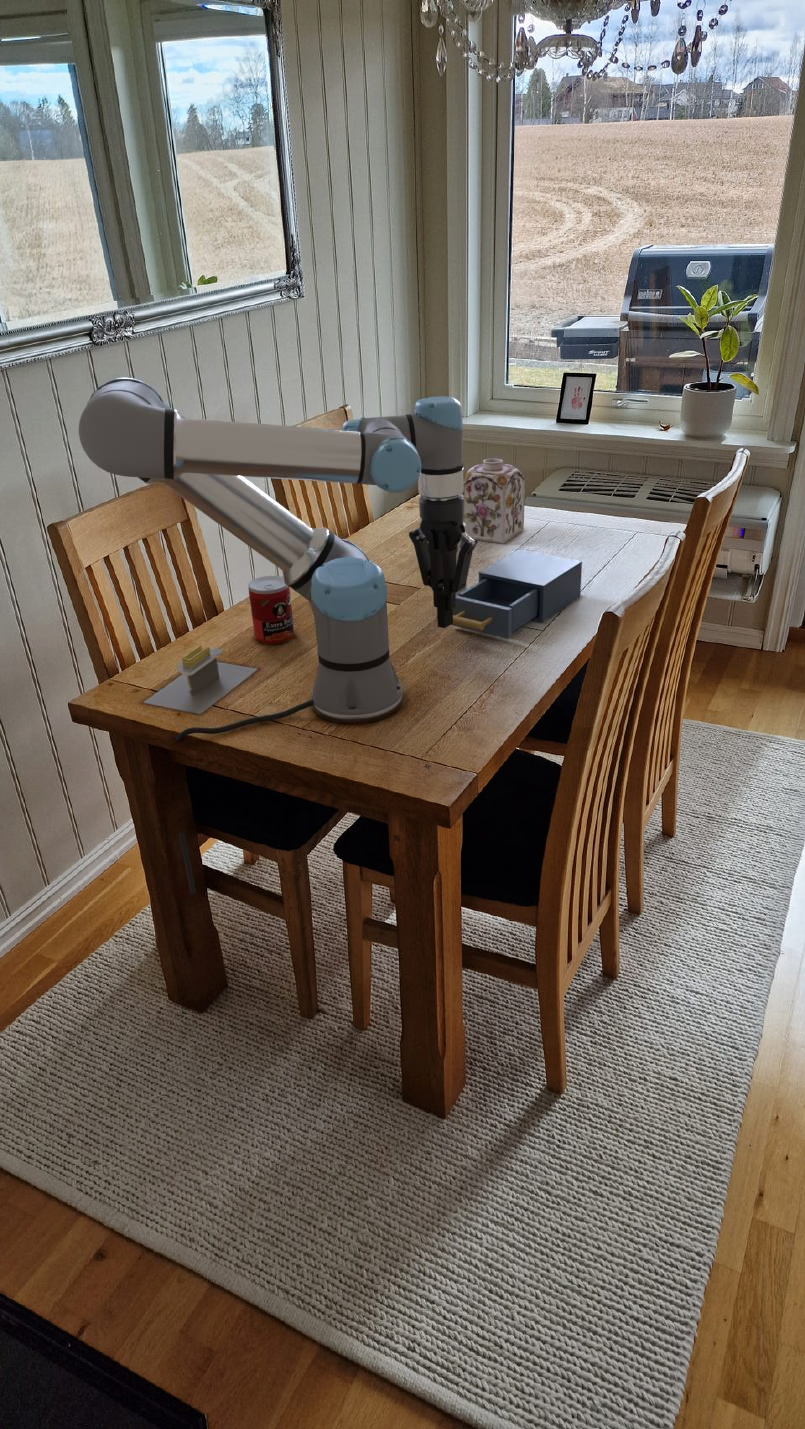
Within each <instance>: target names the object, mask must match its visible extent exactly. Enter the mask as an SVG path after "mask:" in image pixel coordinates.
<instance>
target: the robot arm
mask: <svg viewBox="0 0 805 1429" xmlns="http://www.w3.org/2000/svg"><path fill="white" fill-rule="evenodd" d="M462 412H463V411H462V405H461V402H460V401H459V400H458V399H457V398H454V397H450V396H429V397H423V398H420V399H418V400H417V401H416V402H415V404H414V410H413V413H409V414H402V415H387V416H375V417H365V416H363V417H360V418H356V419H349V420H346V421H344V423H343V424H342V427H341V429H333V428H332V429H331V428H321V427H307V426H296V425H295V426H294V425H282V424H281V425H280V424H269V423H255V422H246V421H245V422H243V421H230V420H219V419H218V420H217V419H208V418H207V419H206V418H192V417H185V416H184V415H183V414H182V413H181V412H180V411H179V410H178V409H173V408H171V407H170V406H169V405H168V404H166V403H165V402H164V400H163V398H162V396H161V394H159V393H158V392H157V390H156V389H154V388H153V387H152V386H151V385H149V384H148V383H146V382H144V381H142V380H140V379H137V378H133V377H118V378H113V379H111V380H108V381H106V382H104V383H102V384H101V385H99V386H97V388H96V390H95V391H94V392H93V393H92V394H91V395H90V397H89V399H88V401H87V402H86V406H85V407H84V409H83V411H82V413H81V415H80V418H79V421H78V422H79V423H78V437H79V442H80V444H81V447H82V449H83V451H84V453H85V454H86V456H87V458H88V459H89V460H90V461H91V462H92V464H94V465H95V466H96V467H98V468H99V469H101V470H102V471H105V472H107V473H109V474H112V475H115V476H120V477H128V478H138V479H139V480H141V481H142V482H143V483H145V484H146V485H150V484H157V483H158V484H163V485H164V486H166V487H167V488H168V489H169V490H171V491H172V492H174V493H175V494H176V495H178V496H179V497H181V498H182V499H184V500H185V501H186V502H187V503H189V504H190V505H191V506H193V507H194V508H196V509H197V510H199V511H200V512H201V513H202V514H204V515H205V516H206V517H208V518H210V519H211V520H212V521H214V522H215V523H216V524H218V525H219V526H221V527H222V528H223V529H225V530H226V531H228V532H229V533H230V534H232V535H233V536H234V537H236V538H237V539H238V540H240V541H241V542H242V543H244V544H245V545H247V546H248V547H249V548H250V549H252V550H253V551H255V552H256V553H258V554H259V555H260V556H261V557H263V558H264V559H265V560H267V561H268V562H270V563H271V564H273V565H274V566H276V567H277V568H278V569H279V570H281V572H282V577H283V578H284V583H285V584H286V585H288V586H289V588H290V589H292V590H293V591H295V592H296V593H297V594H299V595H300V596H302V598H304V599H306V600H307V601H308V602H309V603H310V606H311V610H312V614H313V619H314V628H315V638H316V647H317V658H318V666H317V670H316V674H315V678H314V683H313V686H312V690H311V695H310V700H307V701H305V702H303V703H300V704H297V705H295V706H293V707H291V708H289V709H286V710H284V711H281V712H280V711H279V712H277V713H273V714H272V713H271V714H265V715H260V716H255V717H251V718H247V719H243V720H239V721H237V722H233V723H230V724H227V725H222V726H218V727H202V726H201V727H200V726H198V727H197V726H196V727H195V726H192V727H188V728H186V729H184V730H182V731H181V732H180V733H179V734H178V735H177V736H176V737H175V739H174V741H176V742H179V741H182V740H183V739H184V738H185V737H187V736H188V735H192V734H204V735H205V734H206V735H214V734H221V733H226V732H231V731H233V730H236V729H239V728H242V727H245V726H249V725H254V724H257V723H263V722H269V721H275V720H279V719H283V718H287V717H288V716H289V717H290V716H291V715H293V714H296V713H297V712H300V711H302V710H305V709H307V708H310V707H311V708H312V711H313V712H314V714H316V716H318V717H320V718H321V719H323V720H326V721H328V722H331V723H336V724H342V725H361V724H369V723H373V722H378V721H381V720H383V719H385V718H388V717H390V716H392V715H393V714H395V713H397V712H398V711H399V710H400V708H401V707H402V706H403V704H404V691H403V687H402V684H401V682H400V679H399V676H398V675H397V671H396V670H395V667H394V665H393V662H392V660H391V655H390V653H391V652H390V638H389V620H388V618H389V617H388V604H387V603H388V602H387V598H388V586H387V582H386V577H385V574H384V572H383V570H382V568H380V566H379V565H377V564H376V563H374V562H373V561H370V559H369V557H367V555H366V553H365V552H364V551H363V550H362V549H361V547H359V546H357V545H356V544H355V543H353V542H352V541H350V540H348V539H344V538H340V537H339V536H338V535H336V534H335V533H333V532H332V531H331V530H330V529H329V528H327V527H325V526H323V527H322V526H321V527H317V528H312V527H311V526H309V525H308V524H307V523H306V522H304V521H303V520H302V519H300V518H299V517H297V515H295V514H293V513H292V512H291V511H290V510H288V509H287V508H286V507H284V506H283V505H282V504H281V503H279V502H278V501H277V500H275V499H274V498H273V497H271V496H270V495H269V494H267V493H266V492H265V491H263V489H261V488H259V487H258V486H257V485H256V484H254V483H253V482H251V480H249V479H248V478H249V477H250V478H264V479H280V480H293V481H295V480H296V481H297V480H298V481H308V482H309V481H311V482H328V483H340V484H341V483H342V484H359V485H368V486H377V487H378V488H379V489H381V490H384V491H386V492H387V493H391V494H399V493H403V492H406V491H408V490H409V489H411V488H413V486H414V485H415V484H416V483H417V489H418V490H417V491H418V495H420V496H419V498H418V505H419V510H418V511H419V518H420V519H421V520H420V522H419V527H418V528H415V529H413V530H411V531H409V532H408V537H409V539H410V542H412V544H413V547H414V552H415V555H416V560H417V564H418V568H419V572H420V576H421V580H422V584H423V585H424V586H425V587H429V588H431V590H432V595H433V596H432V598H433V599H432V600H433V607H434V608H436V618H437V619H436V620H437V622H436V623H437V628H440V629H446V628H448V627H450V626H452V625H451V624H453V609H454V608H455V607H456V592H458V591H460V590H461V589H463V588H465V586H466V582H467V581H468V576H469V571H470V567H471V562H472V557H473V551H474V550H475V548H476V546H477V545H478V543H479V540H477V539H476V538H473V539H471V538H470V537H469V536H468V535H467V534H466V533H465V527H464V525H463V517H464V496H463V495H462V494H461V493H462V492H463V491H464V483H463V480H464V425H463V424H464V423H463V413H462ZM246 477H248V478H246ZM460 540H461V544H460V548H461V550H460V552H459V555H458V561H457V565H456V553H457V551H458V543H459V542H460ZM178 838H179V843H180V849H181V852H182V857H183V861H184V866H185V871H186V876H187V883H188V889H189V893H190V894H191V895H193V894H196V886H195V880H194V873H193V869H192V864H191V860H190V854H189V850H188V845H187V841H186V836H185V832H184V831H182V832H179V833H178Z"/></svg>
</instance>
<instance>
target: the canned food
mask: <svg viewBox="0 0 805 1429" xmlns="http://www.w3.org/2000/svg"><path fill="white" fill-rule="evenodd" d="M248 597H249V605H250V611H251V612H250V613H251V618H252V625H253V634H254V637H255V639H256V641H258V642H259V643H262V644H265V645H279V644H282V643H283V644H284V643H286V642H288V641H289V640H291V639H293V637H294V632H295V627H294V617H293V607H292V598H291V588H290V587H289V586H288V585H286V584H285V583H284V578H283V576H280V575H279V576H278V575H265V576H259V577H257V578H254V579H252V580H251V581H249V583H248Z"/></svg>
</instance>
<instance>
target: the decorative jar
mask: <svg viewBox="0 0 805 1429" xmlns="http://www.w3.org/2000/svg"><path fill="white" fill-rule="evenodd" d="M525 482H526V477H525V476H524V474H523V473H522V472H521V470H519V468H516V467H515V466H514V465H513V464H506V463H504V460H503V459H501V458H496V457H495V458H493V457H492V458H491V457H490V458H485V459H483V460H482V463H481V464H476V465H474V466H471V467H470V468H469V469H468V470H467V472H466V473H465V476H463V483H464V491H463V492H462V493H461V494H462V495H463V496H464V517H463V522H464V523H465V524H466V534H467V535H468V536H469V537H470V538H471V539H473V538H476V539H477V541H482V542H489V543H495V544H503V545H504V544H506V543H507V542H508V541H510V540H511V539H512V538H514V537H515V536H517V535H518V534H519V533H521V532H522V531H524V527H525V499H526V498H525V497H526V496H525V486H526V484H525Z"/></svg>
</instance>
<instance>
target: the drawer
mask: <svg viewBox="0 0 805 1429" xmlns="http://www.w3.org/2000/svg"><path fill="white" fill-rule="evenodd" d="M539 607H540V589H538V588H533V587H528V586H524V585H519V584H514V583H510V582H505V581H500V580H495V579H491V578H485V579H483V580H481V581H480V582H479V581H478V582H476V583H474V584H473V585H471V586H469V587H468V588H467V589H466V590H464V591H462V592H461V593H459V596H456V607H455V608H454V609H453V624H451V625H450V626H455V627H458V628H463V629H466V630H471V631H473V632H478V633H482V634H485V635H486V634H487V635H491V636H494V637H499V638H501V639H507V640H509V639H511V638H512V637H513V636H512V634H513V632H514V631H517V629H519V628H521V627H522V626H524V625H525V624H527V623H528V622H529V621H532V620H531V619H532V618H534V617H535V616H537V615H538V614H539Z"/></svg>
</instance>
